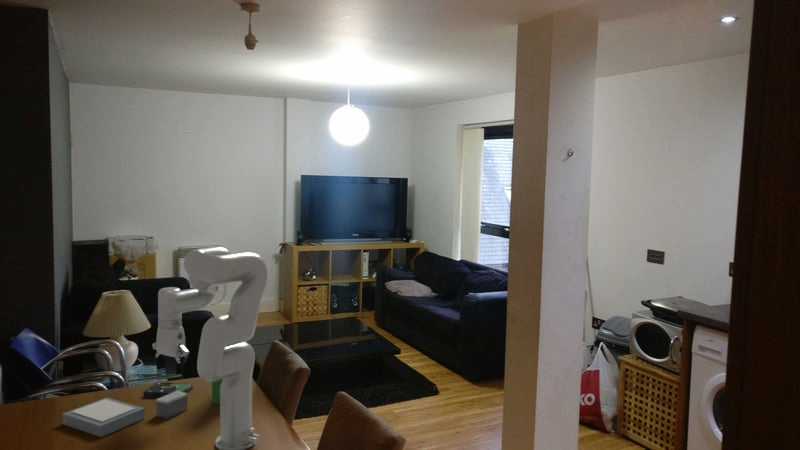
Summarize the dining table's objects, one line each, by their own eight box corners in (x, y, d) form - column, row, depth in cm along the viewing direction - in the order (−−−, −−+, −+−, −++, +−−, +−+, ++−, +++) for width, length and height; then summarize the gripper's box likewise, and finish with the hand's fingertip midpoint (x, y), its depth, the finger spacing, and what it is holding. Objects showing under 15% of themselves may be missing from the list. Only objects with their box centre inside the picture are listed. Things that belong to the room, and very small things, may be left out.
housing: (187, 409, 196) (187, 393, 196) (166, 419, 189) (166, 402, 188) (177, 406, 199) (177, 390, 198) (156, 416, 191) (156, 399, 190)
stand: (144, 418, 188) (144, 407, 188) (100, 437, 174) (100, 425, 174) (107, 407, 198) (106, 396, 197) (62, 424, 183) (62, 412, 183)
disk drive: (142, 399, 207) (180, 400, 206) (142, 391, 207) (180, 392, 206) (157, 388, 217) (193, 389, 216) (156, 381, 217) (193, 382, 216)
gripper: (196, 324, 191) (196, 372, 192) (162, 317, 199) (162, 363, 200) (178, 329, 184) (179, 378, 186) (144, 321, 192) (144, 369, 193)
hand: (170, 370), depth 193 cm, fingers open, 9 cm apart
